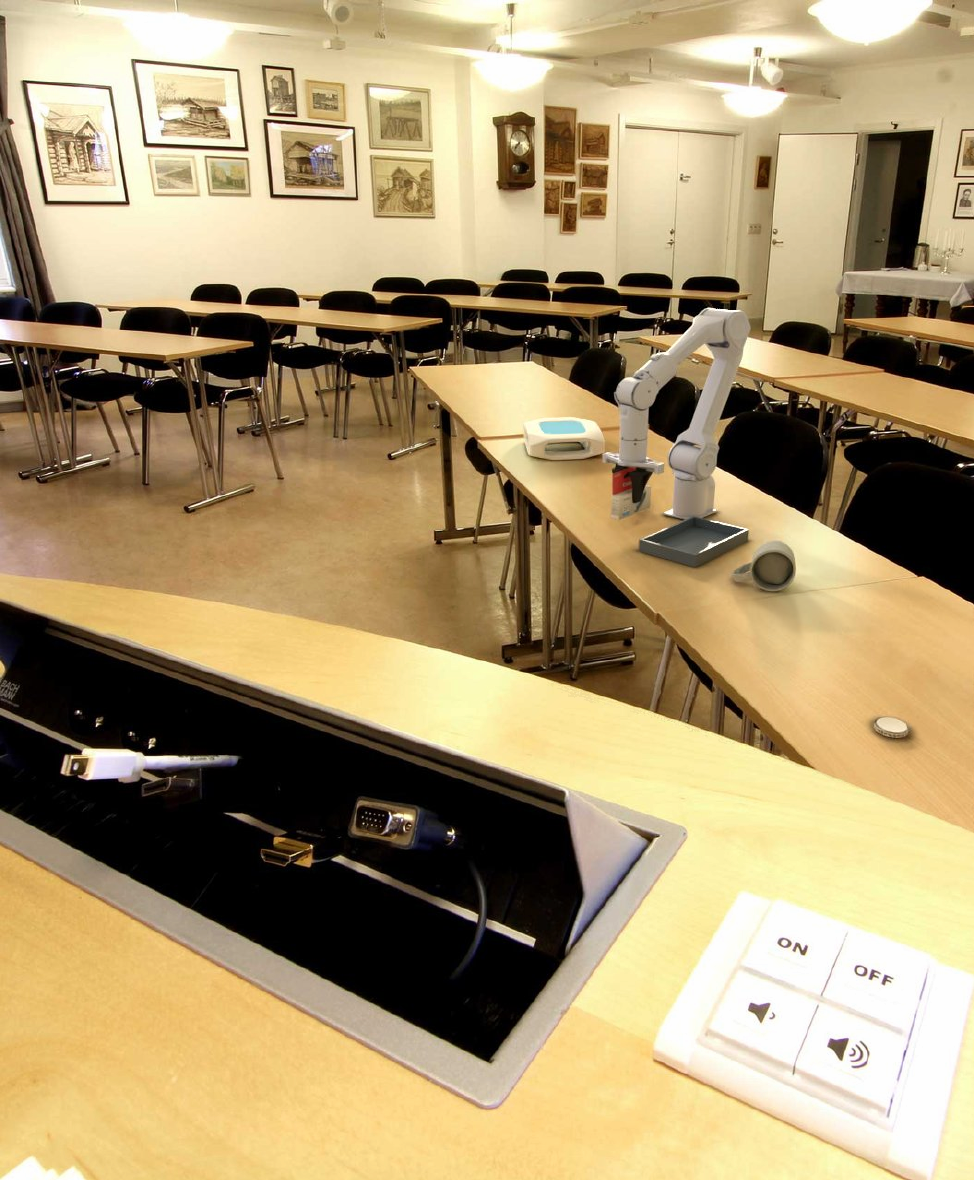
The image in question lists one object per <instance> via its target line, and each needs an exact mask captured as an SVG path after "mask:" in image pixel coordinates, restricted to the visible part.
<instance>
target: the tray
mask: <svg viewBox="0 0 974 1180" xmlns="http://www.w3.org/2000/svg"><path fill="white" fill-rule="evenodd" d="M749 535H750V529H748V528H744V527H742V526H741V527H740V526H737V525H732V524H728V523H724V522H719V521H715V520H711V519H707V518H705V517H703V518H699V517H695V516H693V517H690V518H688V519H686V520H684V519H682V520H681V521H679V522H677V523H675V524H672V525H670V526H667V527H665V528H663V529H660V530H658V531H656V532H653V533H651V534H649V535H647V536H644V537H643V538H639V540H638V552H640V553H643V554H647V555H650V556H654V557H658V558H661V559H665V560H668V561H672V562H675V563H678V564H682V565H686V566H689V567H692V568H697V567H699V566H701V565H703V564H704V563H707V562H709V561H710V560H712V559H714V558H717V557H718V556H720V555H723V554H724V553H726V552H728V551H730V550H732V549H735V548H736V547H738V546H740V545H742V544H744V543H746V542H749Z"/></svg>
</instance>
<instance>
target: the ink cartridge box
mask: <svg viewBox="0 0 974 1180" xmlns="http://www.w3.org/2000/svg"><path fill="white" fill-rule="evenodd" d="M634 470H636V469H635V468H628V469H625V470H622V471H619V472H616V473H611V474H612V475H611V476H612V477H611V479H612V480H611V483H612V484H611V489H612V490H611V505H610V518H611V519H613V520H616V521H621V520H624V519H626V518H629V517H631V516H634V515H636V514H639V513H641V512H644V511H646V510H649V509H651V500H652V499H651V497H652V485H648V484H646V486H645V489H644V492H643V495H642V499H641V502H638V503H633V502H632V483H631V478H630V477H627V478H624V475H625V474H626V473H627V472H628V471H629V472H631V471H634Z"/></svg>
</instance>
